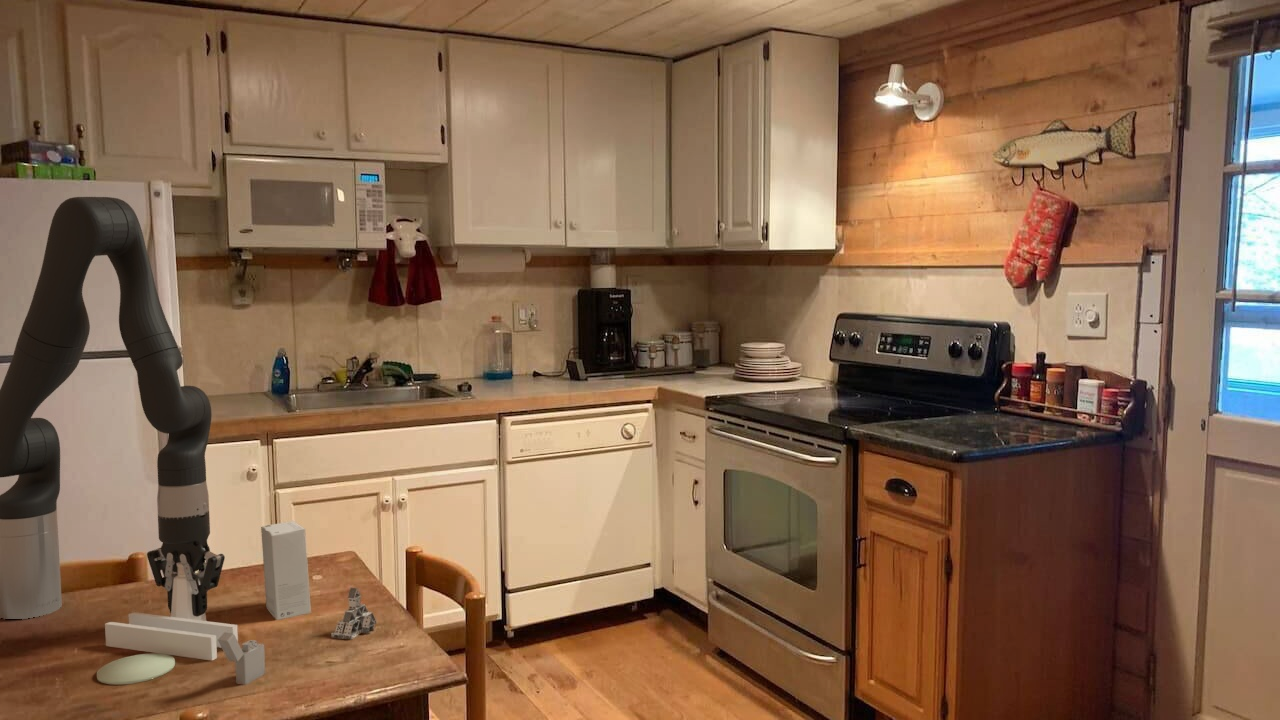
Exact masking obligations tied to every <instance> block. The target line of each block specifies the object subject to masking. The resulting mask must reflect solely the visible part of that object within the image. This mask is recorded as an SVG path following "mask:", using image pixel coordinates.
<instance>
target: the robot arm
mask: <svg viewBox="0 0 1280 720" xmlns="http://www.w3.org/2000/svg"><path fill="white" fill-rule="evenodd" d="M47 235H48V236H47V239H46V246H45V251H44V256H43V259H42V265H41V268H40V273H39V276H38V279H37V282H36V287H35V290H34V292H33V295H32V298H31V299H32V300H31V302H30V305H29V308H28V310H27V314H26V316H25V318H24V321H23V323H22V327H21V329H20V332H19V334H18V338H17V341H16V345H15V348H14V352H13V355H12V358H11V361H10V364H9V365H8V368H7V372H6V373H5V376H4V379H3V381H2V383H1V384H2V385H1V387H0V478H8V477H9V478H10V477H14V476H18V478H17V480H16V481H15V483H14V484H13V485H12V486H11V487H10V488H9V489H8V490H6V491H5V492H3V493H1V494H0V617H1V618H4V619H3V620H5V619H22V620H28V618H30V619H34V618H33V617H35V618H40V617H43V615H44V616H47V615H50V614H52V613H54V612H56V611H58V610H60V609H61V608H62V606H63V604H62V603H63V601H62V580H61V566H60V565H61V563H60V559H61V558H60V545H59V541H60V540H59V528H58V526H59V525H58V510H57V509H58V507H57V502H58V498H59V495H60V490H61V446H60V445H61V444H60V438H59V434H58V432H57V429H56V427H55V426H54V424H53V423H52V422H51V421H49V420H48V419H47V418H43V417H33V415H34V414H35V412H36V411H37V409H38V408H39V407H40V406H41V404H42V403H44V402H45V400H46V399H47V398H48V397H49V396H51V395H52V394H53V393H54V392H55V391H56V390H57V389H58V388H59V387H60V386H61V385H63V384H64V382H65V381H67V379H68V378H69V377H70V376H71V375H72V374H73V373H74V372H75V370H76V369H77V367H78V365H79V363H80V361H81V359H82V356H83V352H84V351H85V348H86V345H87V342H88V339H89V335H90V329H91V325H90V319H89V315H88V311H87V307H86V304H85V301H84V297H83V296H84V295H83V288H84V287H83V286H84V283H85V282H84V281H85V279H86V275H87V273H88V270H89V267H90V265H91V263H92V262H93V260H94V258H95V257H98V256H100V257H101V256H107V257H108V259H109V261H110V262H111V265H112V266H113V269H114V271H115V273H116V276H117V278H118V283H119V284H118V285H119V292H120V294H119V308H118V327H119V333H120V336H121V340H122V341H123V344H124V348H125V349H126V351H127V353H128V356H129V358H130V360H131V363H132V365H133V367H134V370H135V372H136V373H137V374H136V376H137V384H138V389H139V390H138V391H139V396H140V401H141V407H142V410H143V414H144V416H145V417H146V419H147V421H148V422H149V424H150V425H151V426H152V427H153V428H154V429H155V430H156V431H158V432H160V433H163V434H167V435H168V436H167V442H166V444H165V446H164V447H163V448H162V449H161V450H160V451H159V452H158V454H157V460H156V461H157V462H156V463H157V464H156V465H157V466H156V467H157V494H156V495H157V497H156V504H157V507H156V508H157V529H158V539H159V542H161V543H162V544H161V546H160V547H158V548H156V549H153V550H149V551H147V553H146V557H147V559H148V563H149V566H150V569H151V573H152V576H153V579H154V582H155V585H156V586H157V587H163V588H164V590H165V591H166V592H167V593H166V594H167V607H168V610H169V613H170V614H171V607H172V593H173V581H174V577H176V576H177V575H178V574H177V573H178V569H177V568H178V567H177V564H176V563H181V564H182V565H183V568H184V572H185V575H186V579H187V581H189V582H190V585H191V589H192V592H193V594H192V612H193V615H194V616H200V615H202V614H204V613H205V614H206V612H207V610H208V595H207V594H208V591H210V590H213V589H215V588H217V587H218V586H219V582H220V577H221V574H222V572H223V571H222V570H223V567H224V562H225V555H224V554H223V553H219V554H216V553H214V552H212V551H211V548H210V546H209V544H208V539H209V536H210V534H211V523H210V522H211V521H210V518H211V517H210V502H209V501H210V500H209V498H210V496H209V490H208V484H207V466H206V457H205V456H206V450H207V447H208V443H209V436H210V430H211V425H212V406H211V402H210V399H209V397H208V394H207V393H206V392H205V391H204V390H202V389H201V388H199V387H197V386H194V385H183V386H181V382H180V379H179V376H178V370H179V369H181V367H182V366H183V364H184V359H183V355H182V352H181V351H180V348H179V345H178V343H177V342H176V338H175V336H174V334H173V332H172V331H173V330H172V329H171V327H170V325H169V323H168V319H167V317H166V315H165V313H164V311H163V307H162V304H161V301H160V297H159V293H158V291H157V288H156V282H155V278H154V274H153V270H152V269H153V268H152V267H151V262H150V259H149V255H148V251H147V246H146V241H145V237H144V234H143V230H142V226H141V224H140V221H139V219H138V216H137V214H136V212H135V210H134V209H133V207H132V206H131V205H130V204H129V203H128V202H126V201H125V200H123V199H120V198H118V197H111V196H109V197H108V196H74V197H70V198H67V199H65V200H64V201H63V202H61V203H60V204H59V206H58V207H57V208H56V209H55V212H54V214H53V215H52V219H51V222H50V227H49V231H48V234H47ZM161 571H162V572H161ZM197 571H198V572H197ZM193 572H195V573H196V572H197V573H196V574H194V573H193ZM198 578H199V581H200V585H199V583H198ZM60 607H61V608H60ZM46 614H47V615H46ZM39 616H40V617H39ZM1 618H0V619H1Z"/></svg>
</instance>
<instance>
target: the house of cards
mask: <svg viewBox="0 0 1280 720" xmlns="http://www.w3.org/2000/svg"><path fill="white" fill-rule="evenodd" d="M361 597H362V595H361V593H360V591H359V588H358V587H350V588H349V592H348V595H347V599H348V608H347V609H346V610H344V614H343V617H342V618H341V620H338V621H337V623H336V628H335V630H334V631H332V632H331V633H330V634H331V639H332V638H333V639H340V640H342V639H343V640H351V641H352V640H353V639H355V637H357V636H358V635H359V636H360V634H361V633H362V634H367V635H370V631H375V624H377V619H376V618H375V615H374V613H373V612H369V611H368V608H367V606H366V604H362V603H361V601H362V600H361Z"/></svg>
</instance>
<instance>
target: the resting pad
mask: <svg viewBox="0 0 1280 720" xmlns="http://www.w3.org/2000/svg"><path fill="white" fill-rule="evenodd" d="M175 665H176V660H175V658H174V656H173V655H168V654H160V653H153V652H149V653H140V654H135V655H130V656H125V657H121V658H119V659H115V660H113V661H110V662H108V663H106V664H104V665H103V666H101V667H100V668H99V669H98V670H97V672H96V679H97V681H98V682H100V683H102V684H107V685H113V686H115V685H117V686H119V685H121V686H122V685H131V684H132V685H133V684H138V683H143V682H146V681H151V680H153V679H157V678H160V677H162V676H164V675H165V674H167V673H169V672H170V671H172V670H173V669H174V667H175Z"/></svg>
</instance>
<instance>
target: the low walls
mask: <svg viewBox="0 0 1280 720" xmlns="http://www.w3.org/2000/svg"><path fill="white" fill-rule="evenodd" d="M104 629H105V630H104V633H105V647H111V648H118V649H124V650H132V651H133V650H134V651H141V652H147V653H159V654H167V655H170V656H174V657H175V656H176V657H177V656H178V657H182V658H183V657H184V658H189V659H198V660H205V661H214V660H217V658H218V652H217V651H218V649H217V648H220V649H222V647H221V645H220V643H219V641H218V639H219V638H220V637H221V636H222V635H223V634H224V632H226V633H233V634H234V635H235V637H236V639H237V641H238V642H239V636H238V635H239V634H238V624H233V623H231V624H230V623H225V622H218V621H217V622H215V621H208V620H206V621H201V620H193V619H185V618H177V617H171V616H168V615H159V614H151V613H143V612H136V611H135V612H134V611H133V612H131V613H128V623H122V622H115V621H109V622H106V623H104Z"/></svg>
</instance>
